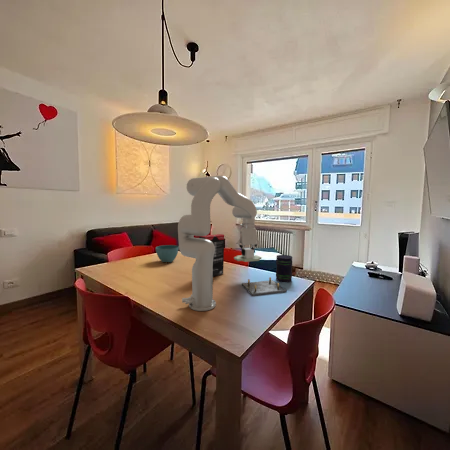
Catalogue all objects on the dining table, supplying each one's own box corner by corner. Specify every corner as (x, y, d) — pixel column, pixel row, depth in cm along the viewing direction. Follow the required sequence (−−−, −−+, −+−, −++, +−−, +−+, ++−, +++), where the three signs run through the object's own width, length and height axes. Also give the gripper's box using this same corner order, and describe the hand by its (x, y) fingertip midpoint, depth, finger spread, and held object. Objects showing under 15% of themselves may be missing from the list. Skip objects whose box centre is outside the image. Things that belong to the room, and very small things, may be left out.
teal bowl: (151, 263, 180) (151, 248, 178) (161, 258, 197) (161, 244, 196) (173, 265, 177) (173, 249, 175) (181, 259, 194) (181, 245, 193)
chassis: (252, 295, 119) (252, 288, 118) (241, 285, 134) (241, 278, 134) (286, 291, 124) (286, 284, 124) (272, 282, 140) (272, 275, 139)
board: (239, 262, 134) (240, 251, 133) (232, 257, 145) (232, 248, 144) (263, 260, 139) (264, 250, 139) (254, 256, 150) (254, 246, 150)
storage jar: (291, 278, 147) (292, 255, 146) (291, 283, 138) (292, 259, 136) (276, 276, 150) (276, 254, 149) (275, 281, 141) (275, 257, 139)
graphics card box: (217, 271, 160) (217, 233, 157) (224, 274, 155) (224, 234, 152) (198, 277, 148) (198, 235, 145) (205, 279, 143) (205, 236, 140)
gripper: (237, 226, 134) (236, 257, 136) (263, 226, 139) (263, 255, 141) (233, 225, 141) (232, 254, 143) (258, 225, 146) (257, 253, 148)
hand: (247, 254), depth 142 cm, fingers closed on board, 5 cm apart
